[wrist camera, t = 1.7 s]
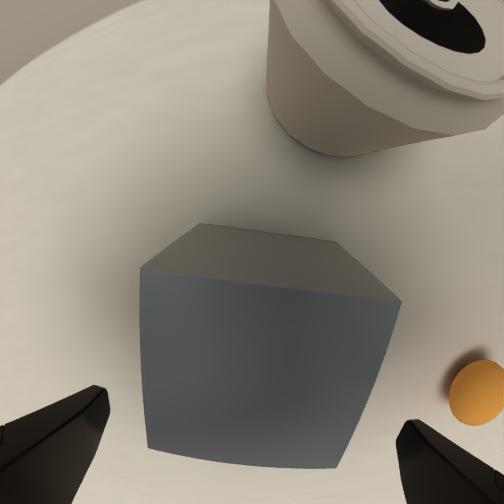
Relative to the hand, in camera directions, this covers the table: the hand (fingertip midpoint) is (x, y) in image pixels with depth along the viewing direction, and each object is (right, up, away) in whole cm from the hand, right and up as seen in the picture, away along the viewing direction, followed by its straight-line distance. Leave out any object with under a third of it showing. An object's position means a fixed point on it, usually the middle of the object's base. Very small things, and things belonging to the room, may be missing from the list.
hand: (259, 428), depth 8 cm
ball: (+16, -5, +9) cm, 19 cm away
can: (+4, +14, +8) cm, 16 cm away
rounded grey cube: (0, +2, +10) cm, 10 cm away
